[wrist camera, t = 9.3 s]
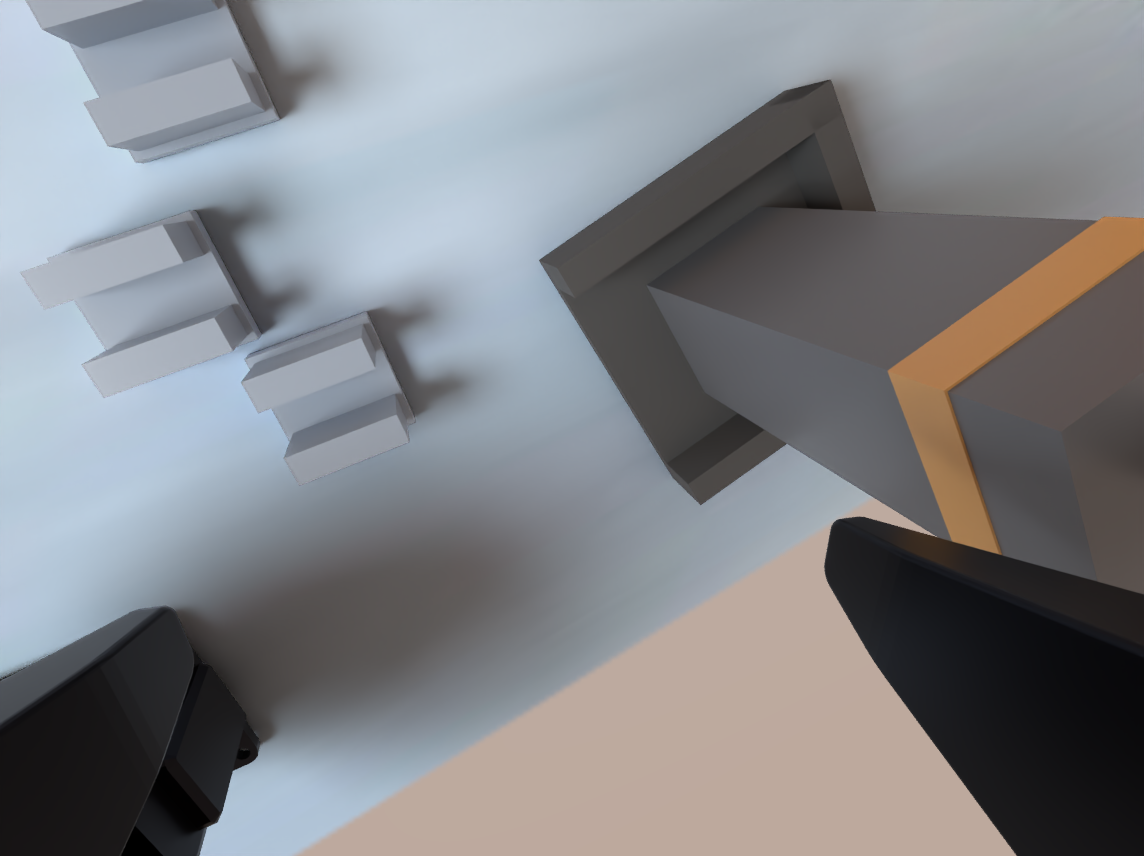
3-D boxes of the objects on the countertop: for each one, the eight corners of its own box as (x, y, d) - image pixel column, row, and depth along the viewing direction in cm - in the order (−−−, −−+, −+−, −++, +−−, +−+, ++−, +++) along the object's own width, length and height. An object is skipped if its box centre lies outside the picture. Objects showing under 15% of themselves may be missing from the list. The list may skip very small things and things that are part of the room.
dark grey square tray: (673, 477, 24) (700, 505, 22) (538, 260, 20) (557, 268, 18) (876, 334, 24) (922, 347, 22) (784, 90, 20) (830, 79, 18)
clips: (210, 496, 20) (187, 537, 17) (-79, 42, 15) (-167, 13, 12) (414, 416, 21) (418, 445, 18) (208, -39, 16) (178, -79, 13)
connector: (704, 394, 23) (1312, 776, 8) (644, 284, 21) (1303, 517, 6) (809, 320, 23) (1598, 559, 8) (759, 204, 21) (1683, 237, 6)
